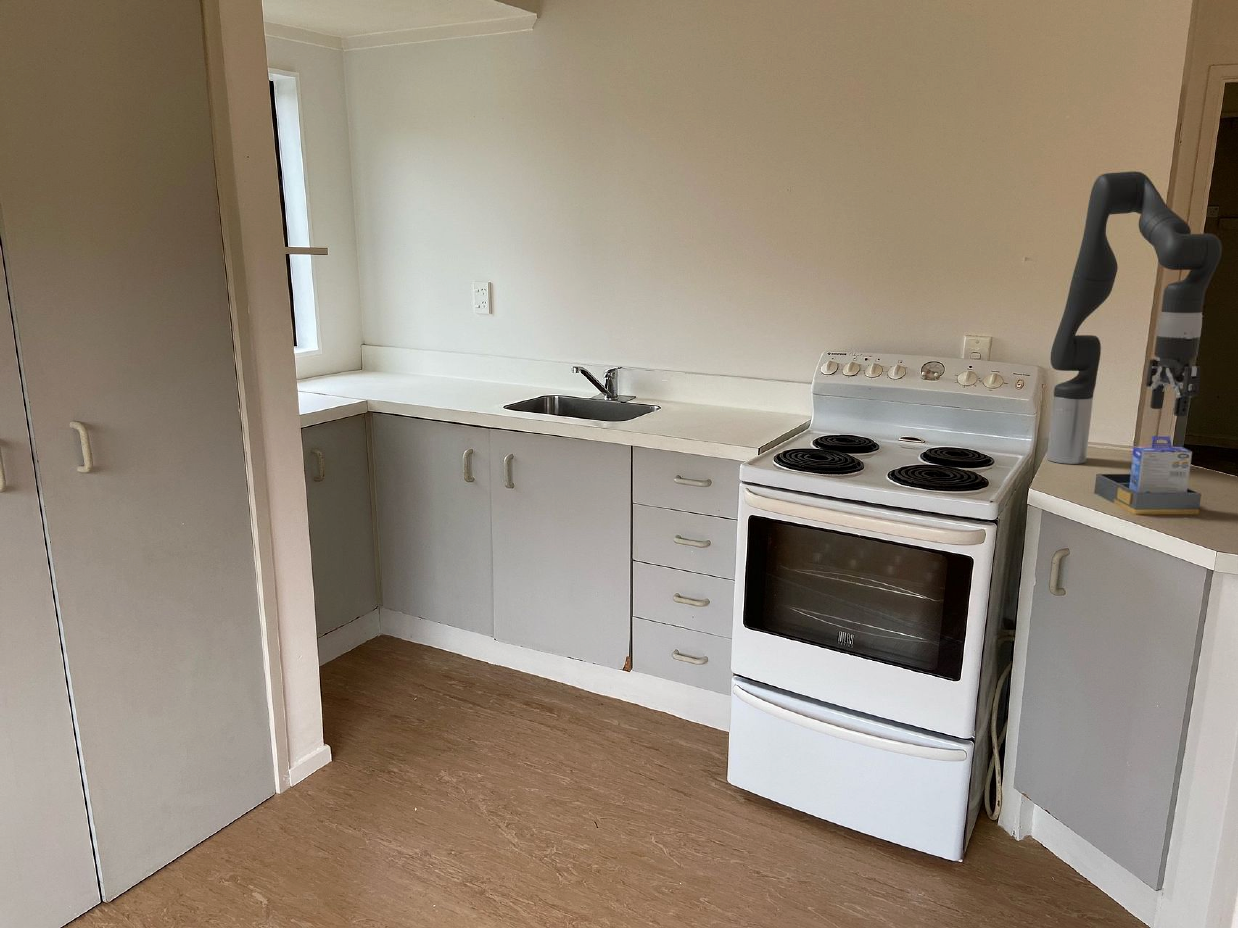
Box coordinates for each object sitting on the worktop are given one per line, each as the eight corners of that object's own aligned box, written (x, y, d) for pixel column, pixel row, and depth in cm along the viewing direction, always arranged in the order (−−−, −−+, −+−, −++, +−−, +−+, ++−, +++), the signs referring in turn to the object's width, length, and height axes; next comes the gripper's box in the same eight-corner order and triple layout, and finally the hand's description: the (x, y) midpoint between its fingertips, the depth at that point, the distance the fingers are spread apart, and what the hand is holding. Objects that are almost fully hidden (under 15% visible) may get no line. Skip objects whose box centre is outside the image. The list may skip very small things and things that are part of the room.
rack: (1092, 492, 195) (1095, 473, 194) (1152, 492, 194) (1154, 473, 193) (1133, 514, 178) (1135, 493, 177) (1198, 514, 177) (1201, 493, 176)
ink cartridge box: (1174, 500, 184) (1184, 435, 180) (1186, 508, 178) (1196, 441, 175) (1125, 499, 185) (1133, 434, 182) (1135, 506, 180) (1144, 440, 177)
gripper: (1140, 331, 180) (1130, 406, 184) (1180, 337, 166) (1169, 418, 170) (1176, 331, 180) (1166, 406, 184) (1219, 337, 166) (1207, 418, 170)
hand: (1167, 412), depth 177 cm, fingers open, 8 cm apart
